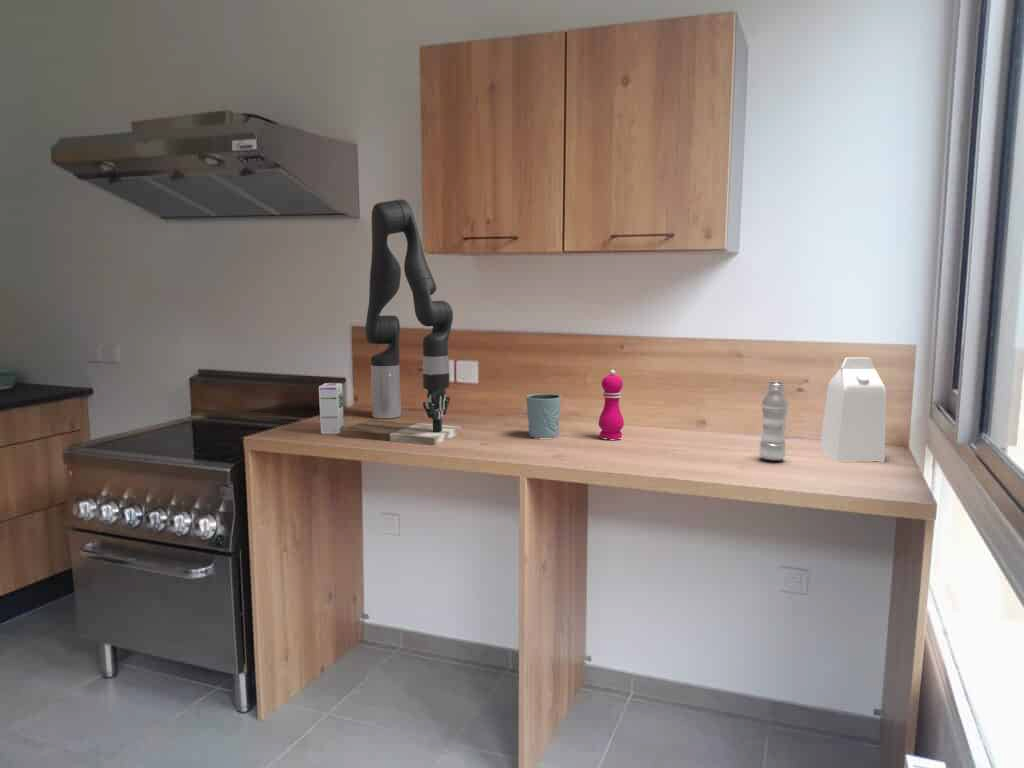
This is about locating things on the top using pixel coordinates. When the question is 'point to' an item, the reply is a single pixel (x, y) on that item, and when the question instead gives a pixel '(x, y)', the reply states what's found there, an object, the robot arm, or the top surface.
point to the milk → (855, 413)
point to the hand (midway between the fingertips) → (437, 431)
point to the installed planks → (374, 429)
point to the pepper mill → (611, 407)
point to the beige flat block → (424, 434)
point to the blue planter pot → (543, 415)
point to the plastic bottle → (774, 423)
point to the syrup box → (331, 408)
